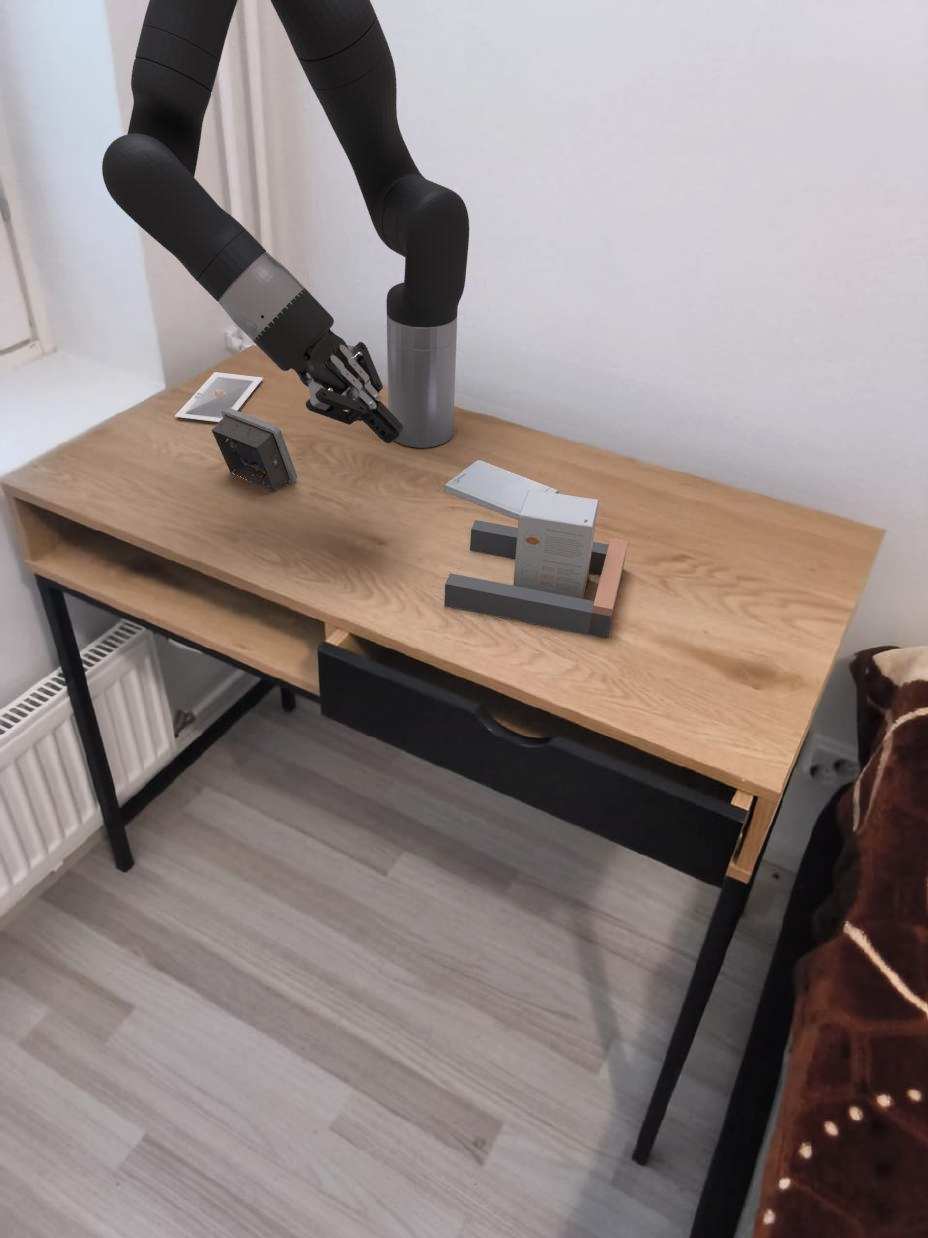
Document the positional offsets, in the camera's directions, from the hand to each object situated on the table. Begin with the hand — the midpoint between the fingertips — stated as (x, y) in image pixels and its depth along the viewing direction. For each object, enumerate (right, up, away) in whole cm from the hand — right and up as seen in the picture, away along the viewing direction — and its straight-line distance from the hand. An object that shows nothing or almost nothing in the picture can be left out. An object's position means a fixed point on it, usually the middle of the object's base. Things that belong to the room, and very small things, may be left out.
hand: (396, 436), depth 98 cm
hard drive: (+12, -4, +21) cm, 25 cm away
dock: (+16, -16, +5) cm, 24 cm away
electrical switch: (-19, -2, +21) cm, 28 cm away
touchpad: (-29, +12, +38) cm, 49 cm away
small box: (+17, -16, +6) cm, 24 cm away
